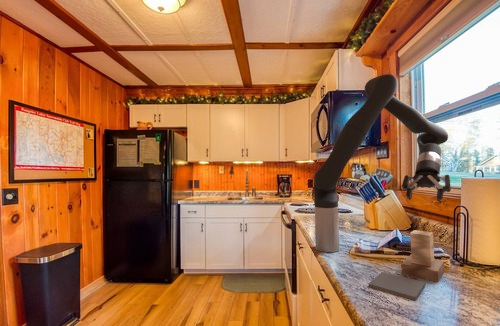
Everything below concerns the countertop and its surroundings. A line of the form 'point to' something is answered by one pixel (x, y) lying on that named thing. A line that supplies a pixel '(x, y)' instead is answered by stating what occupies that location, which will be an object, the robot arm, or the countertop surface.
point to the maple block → (422, 247)
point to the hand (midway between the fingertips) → (423, 198)
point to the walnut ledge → (423, 269)
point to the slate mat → (398, 285)
